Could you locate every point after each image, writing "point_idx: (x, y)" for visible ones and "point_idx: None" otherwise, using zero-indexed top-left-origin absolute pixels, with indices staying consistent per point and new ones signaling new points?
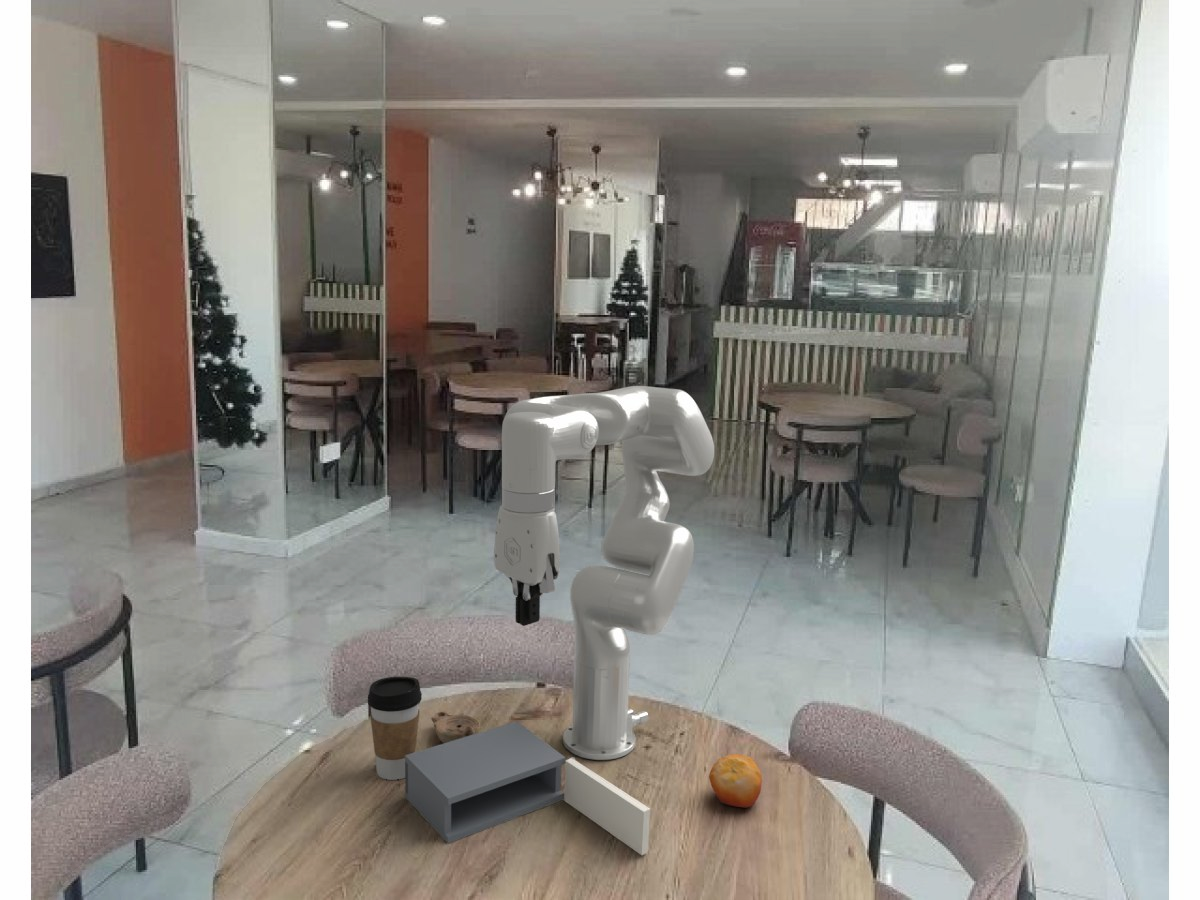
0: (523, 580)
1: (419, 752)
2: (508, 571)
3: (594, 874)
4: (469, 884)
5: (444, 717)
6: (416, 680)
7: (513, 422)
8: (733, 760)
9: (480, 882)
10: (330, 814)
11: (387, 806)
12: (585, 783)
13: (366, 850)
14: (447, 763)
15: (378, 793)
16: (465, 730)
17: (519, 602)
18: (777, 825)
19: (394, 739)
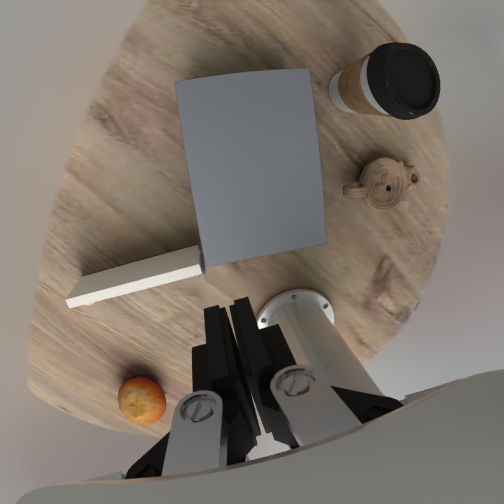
0: (95, 496)
1: (308, 87)
2: (329, 480)
3: (71, 222)
4: (103, 96)
5: (408, 179)
6: (415, 112)
7: None
8: (142, 413)
9: (100, 107)
10: (292, 5)
11: (281, 56)
12: (159, 269)
13: (209, 15)
14: (262, 109)
15: (310, 57)
16: (365, 184)
17: (242, 360)
18: (101, 392)
19: (350, 71)
